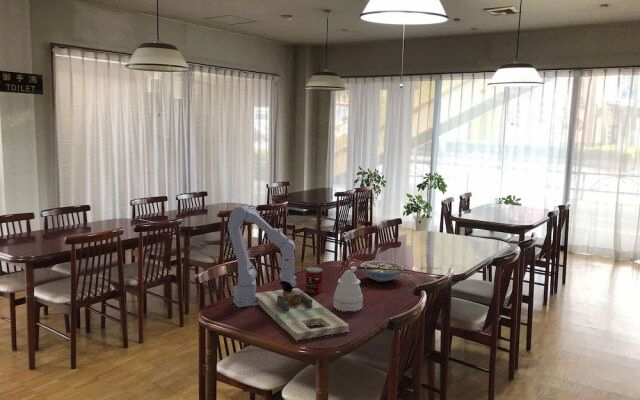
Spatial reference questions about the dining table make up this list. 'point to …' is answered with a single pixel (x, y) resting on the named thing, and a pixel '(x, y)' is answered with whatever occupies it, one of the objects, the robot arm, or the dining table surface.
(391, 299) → the dining table surface
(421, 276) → the dining table surface
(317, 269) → the canned food
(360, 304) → the white santa figurine
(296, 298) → the walnut block
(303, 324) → the board
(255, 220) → the robot arm
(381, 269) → the ramen bowl
